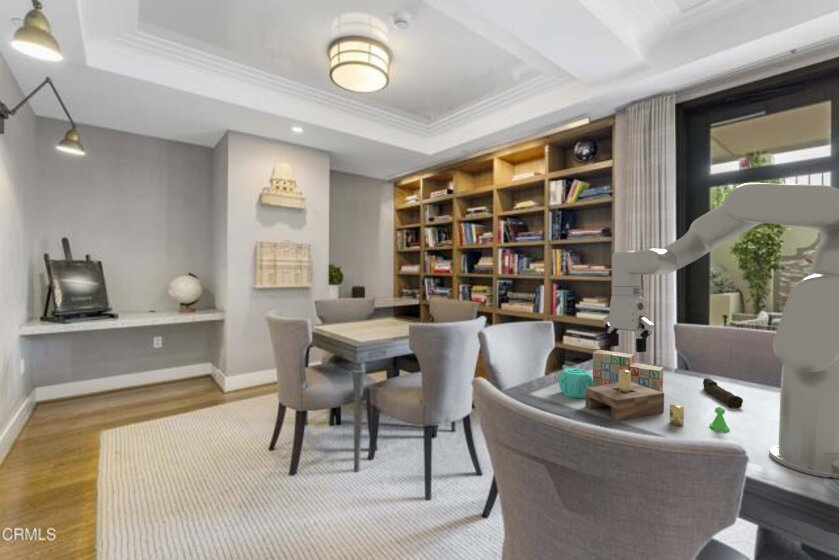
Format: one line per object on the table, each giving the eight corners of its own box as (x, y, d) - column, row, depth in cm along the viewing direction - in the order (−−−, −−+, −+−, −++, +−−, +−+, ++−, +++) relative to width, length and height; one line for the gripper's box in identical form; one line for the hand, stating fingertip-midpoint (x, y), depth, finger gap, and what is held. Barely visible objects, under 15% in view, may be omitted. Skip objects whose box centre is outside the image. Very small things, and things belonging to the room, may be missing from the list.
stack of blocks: (663, 394, 132) (664, 358, 131) (659, 398, 127) (660, 361, 127) (597, 381, 146) (598, 349, 146) (592, 385, 142) (592, 351, 141)
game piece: (707, 428, 104) (708, 406, 104) (711, 424, 107) (711, 402, 107) (728, 433, 101) (728, 411, 100) (730, 428, 104) (731, 406, 103)
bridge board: (663, 412, 115) (664, 393, 114) (616, 421, 109) (617, 400, 109) (629, 399, 126) (630, 381, 126) (585, 406, 120) (585, 387, 120)
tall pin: (632, 411, 116) (633, 371, 116) (624, 412, 115) (625, 372, 115) (623, 407, 119) (624, 368, 119) (615, 408, 118) (616, 369, 118)
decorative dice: (558, 392, 134) (558, 369, 133) (576, 389, 136) (576, 367, 136) (575, 399, 126) (575, 375, 126) (594, 396, 129) (594, 373, 128)
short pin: (686, 425, 106) (686, 407, 106) (677, 427, 105) (678, 409, 105) (675, 421, 109) (675, 403, 109) (666, 422, 108) (667, 405, 108)
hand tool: (743, 409, 118) (744, 394, 117) (728, 408, 119) (728, 393, 118) (713, 390, 136) (713, 377, 136) (700, 389, 137) (700, 376, 137)
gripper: (662, 292, 109) (662, 353, 109) (613, 290, 125) (613, 343, 125) (642, 293, 106) (642, 355, 107) (594, 291, 123) (595, 345, 123)
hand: (627, 348), depth 116 cm, fingers open, 9 cm apart
